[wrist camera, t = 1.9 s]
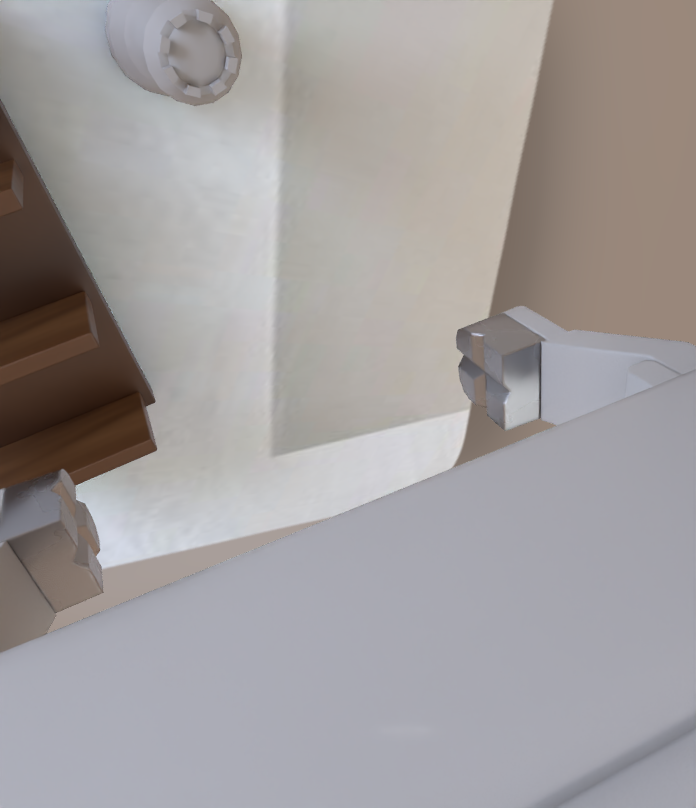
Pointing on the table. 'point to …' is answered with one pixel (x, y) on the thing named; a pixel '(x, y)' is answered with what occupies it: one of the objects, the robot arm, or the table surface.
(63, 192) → the table surface
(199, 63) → the rook chess piece
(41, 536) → the robot arm
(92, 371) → the plate rack
